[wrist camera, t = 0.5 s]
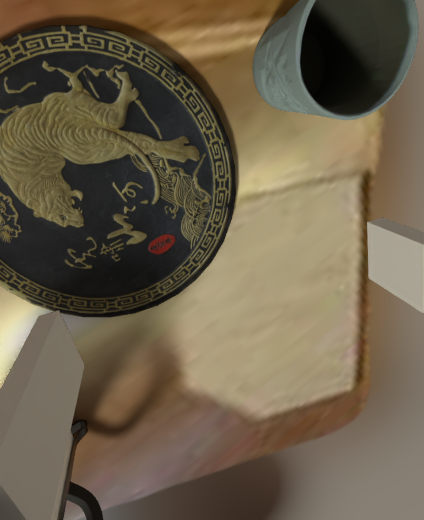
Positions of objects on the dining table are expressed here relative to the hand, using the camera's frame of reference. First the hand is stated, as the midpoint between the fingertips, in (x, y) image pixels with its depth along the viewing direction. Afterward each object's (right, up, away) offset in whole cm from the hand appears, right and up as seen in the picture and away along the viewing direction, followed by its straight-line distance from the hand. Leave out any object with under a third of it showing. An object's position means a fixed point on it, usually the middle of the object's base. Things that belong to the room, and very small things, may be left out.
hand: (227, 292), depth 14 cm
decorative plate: (-13, +9, +23) cm, 27 cm away
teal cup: (+8, +22, +22) cm, 32 cm away
